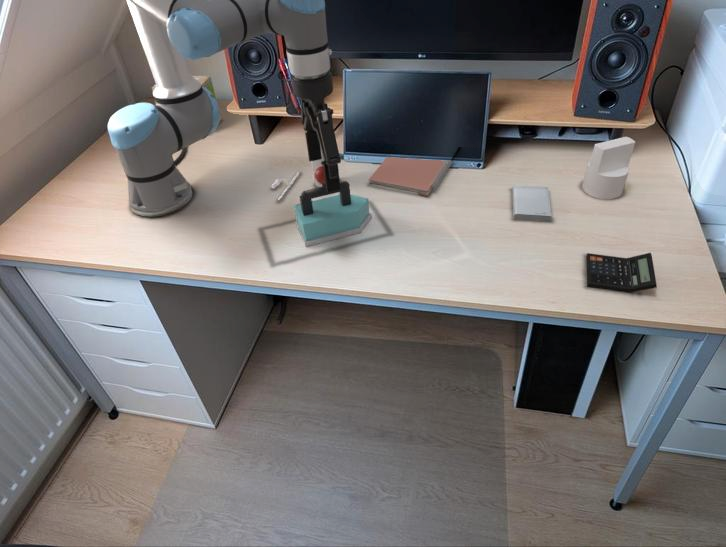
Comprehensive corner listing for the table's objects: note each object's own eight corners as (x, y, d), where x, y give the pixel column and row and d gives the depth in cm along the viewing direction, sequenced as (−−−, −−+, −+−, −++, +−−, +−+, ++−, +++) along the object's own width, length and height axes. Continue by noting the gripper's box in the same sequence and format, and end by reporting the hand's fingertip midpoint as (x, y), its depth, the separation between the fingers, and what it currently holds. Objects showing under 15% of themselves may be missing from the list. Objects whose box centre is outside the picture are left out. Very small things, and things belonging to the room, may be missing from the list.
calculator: (586, 256, 106) (589, 244, 104) (648, 264, 104) (652, 252, 102) (587, 286, 100) (590, 275, 98) (653, 296, 97) (658, 284, 95)
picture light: (279, 202, 128) (278, 195, 127) (263, 200, 129) (262, 193, 128) (300, 173, 138) (299, 166, 137) (285, 172, 139) (284, 165, 138)
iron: (365, 207, 124) (361, 147, 113) (378, 228, 117) (375, 166, 107) (295, 224, 120) (285, 164, 109) (305, 247, 113) (295, 185, 103)
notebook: (431, 197, 126) (432, 190, 125) (368, 185, 132) (368, 178, 130) (464, 146, 144) (464, 140, 143) (407, 137, 150) (407, 131, 148)
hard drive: (552, 216, 115) (548, 185, 124) (514, 213, 116) (512, 184, 125) (550, 222, 116) (547, 191, 125) (513, 219, 117) (512, 189, 126)
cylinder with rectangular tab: (598, 202, 120) (611, 156, 112) (574, 183, 127) (585, 138, 119) (630, 194, 122) (646, 147, 114) (605, 175, 129) (618, 130, 121)
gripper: (351, 92, 87) (360, 199, 100) (312, 48, 105) (324, 144, 119) (308, 101, 85) (323, 208, 99) (276, 55, 103) (292, 152, 117)
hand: (324, 174), depth 109 cm, fingers open, 13 cm apart
